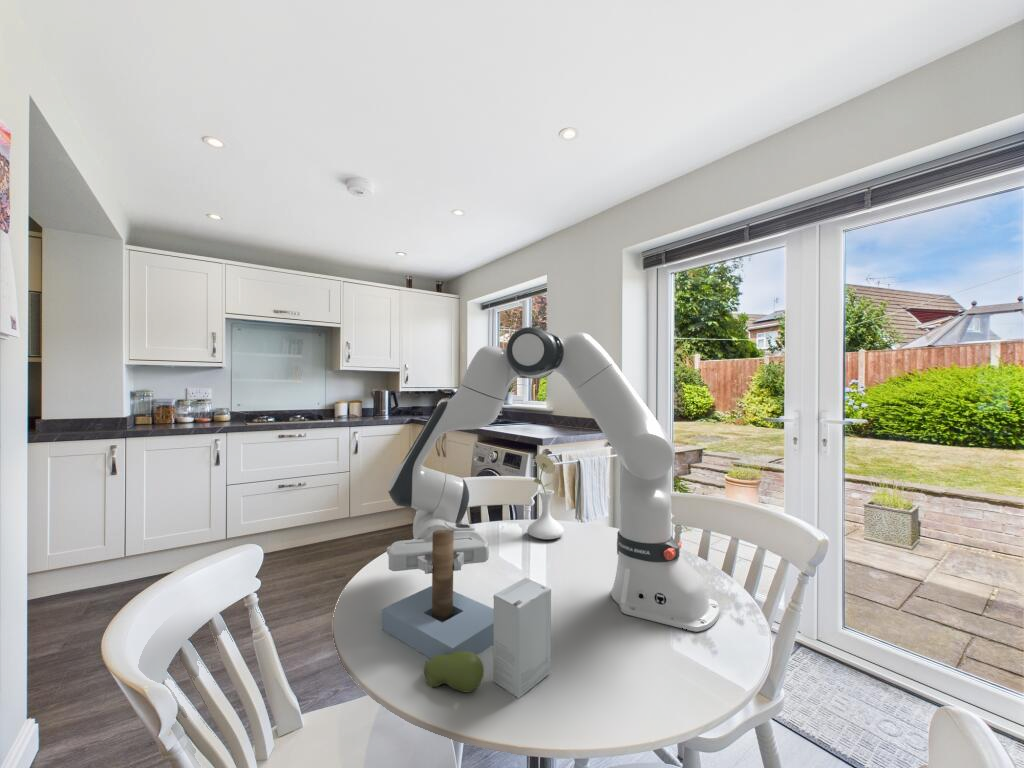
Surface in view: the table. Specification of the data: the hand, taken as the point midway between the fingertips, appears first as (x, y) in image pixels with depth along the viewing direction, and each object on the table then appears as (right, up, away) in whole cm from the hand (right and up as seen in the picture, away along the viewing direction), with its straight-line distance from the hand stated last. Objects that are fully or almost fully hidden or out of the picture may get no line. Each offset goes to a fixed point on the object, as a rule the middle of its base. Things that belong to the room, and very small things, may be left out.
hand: (443, 568), depth 87 cm
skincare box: (+15, -13, -12) cm, 23 cm away
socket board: (0, -13, +1) cm, 13 cm away
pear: (+4, -13, -13) cm, 19 cm away
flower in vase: (+23, -12, +54) cm, 60 cm away
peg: (0, -9, +1) cm, 10 cm away
